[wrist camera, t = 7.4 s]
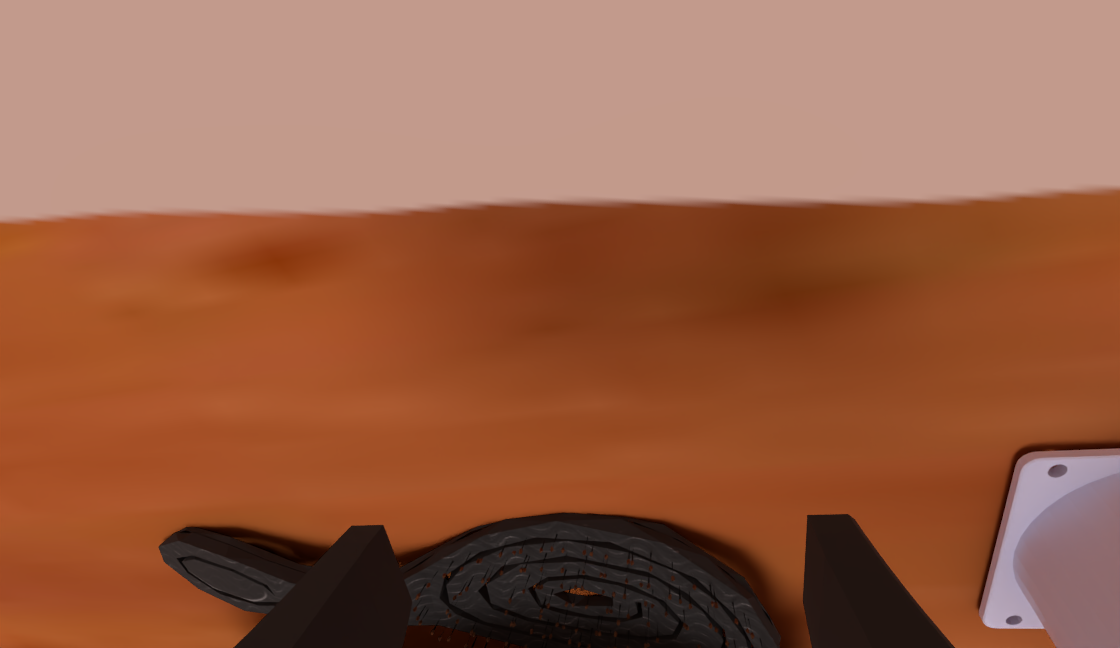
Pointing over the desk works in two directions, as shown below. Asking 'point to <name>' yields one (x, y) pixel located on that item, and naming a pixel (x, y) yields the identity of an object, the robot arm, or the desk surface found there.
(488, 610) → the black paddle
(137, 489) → the desk surface
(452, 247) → the desk surface
